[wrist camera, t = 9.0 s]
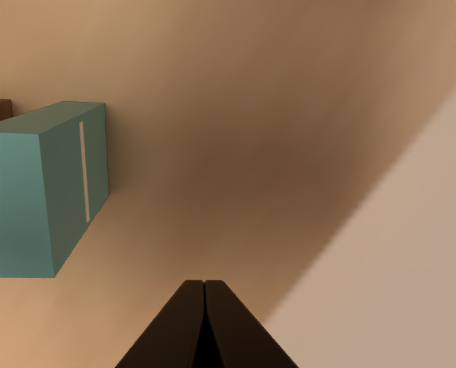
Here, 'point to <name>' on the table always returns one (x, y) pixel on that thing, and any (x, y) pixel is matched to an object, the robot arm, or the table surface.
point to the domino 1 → (5, 109)
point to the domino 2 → (49, 185)
